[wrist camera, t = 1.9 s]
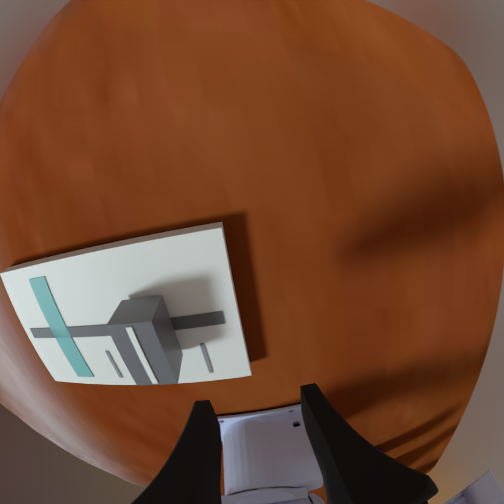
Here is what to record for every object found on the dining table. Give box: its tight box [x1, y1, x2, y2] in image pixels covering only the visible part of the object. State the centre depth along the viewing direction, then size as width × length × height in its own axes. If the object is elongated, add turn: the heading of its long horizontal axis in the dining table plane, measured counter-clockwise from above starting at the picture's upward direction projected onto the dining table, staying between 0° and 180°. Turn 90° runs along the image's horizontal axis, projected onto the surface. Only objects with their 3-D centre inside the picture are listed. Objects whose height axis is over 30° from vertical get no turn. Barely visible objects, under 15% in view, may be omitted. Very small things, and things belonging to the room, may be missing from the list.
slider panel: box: [0, 222, 251, 385], centre depth 18 cm, size 20×12×2 cm, turn 98°
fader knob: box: [106, 295, 183, 385], centre depth 16 cm, size 3×5×3 cm, turn 8°
